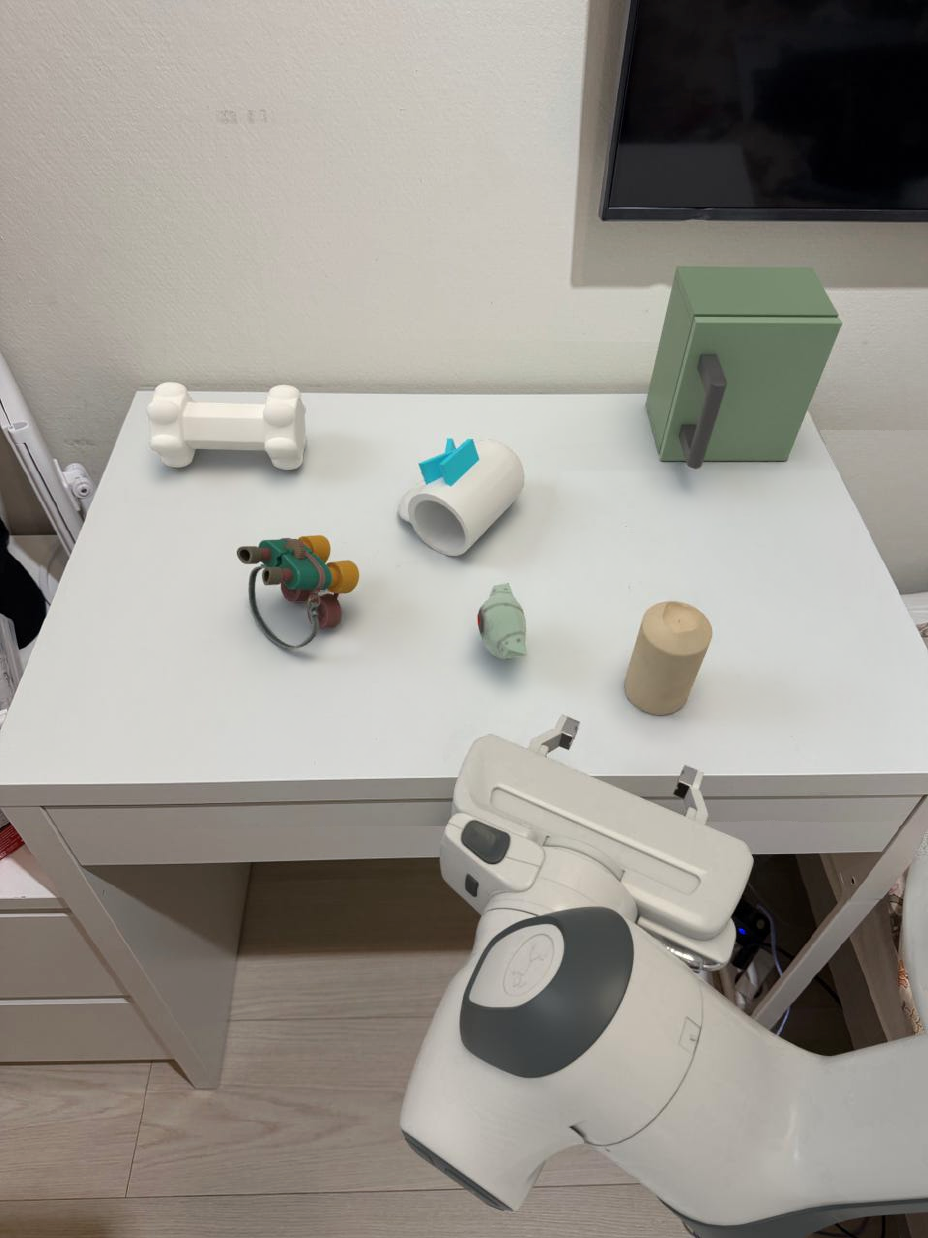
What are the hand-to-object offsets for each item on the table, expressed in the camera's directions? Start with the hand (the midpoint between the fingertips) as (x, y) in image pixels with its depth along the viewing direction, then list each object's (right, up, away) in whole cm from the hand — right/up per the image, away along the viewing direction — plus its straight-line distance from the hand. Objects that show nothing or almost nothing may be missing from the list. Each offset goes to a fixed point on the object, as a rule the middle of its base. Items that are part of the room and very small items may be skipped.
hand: (630, 747), depth 62 cm
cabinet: (+16, +31, +34) cm, 49 cm away
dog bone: (-37, +27, +30) cm, 54 cm away
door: (+16, +25, +29) cm, 42 cm away
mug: (-13, +21, +25) cm, 35 cm away
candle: (+4, +3, +11) cm, 12 cm away
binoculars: (-27, +10, +16) cm, 32 cm away
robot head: (-9, +6, +13) cm, 17 cm away
